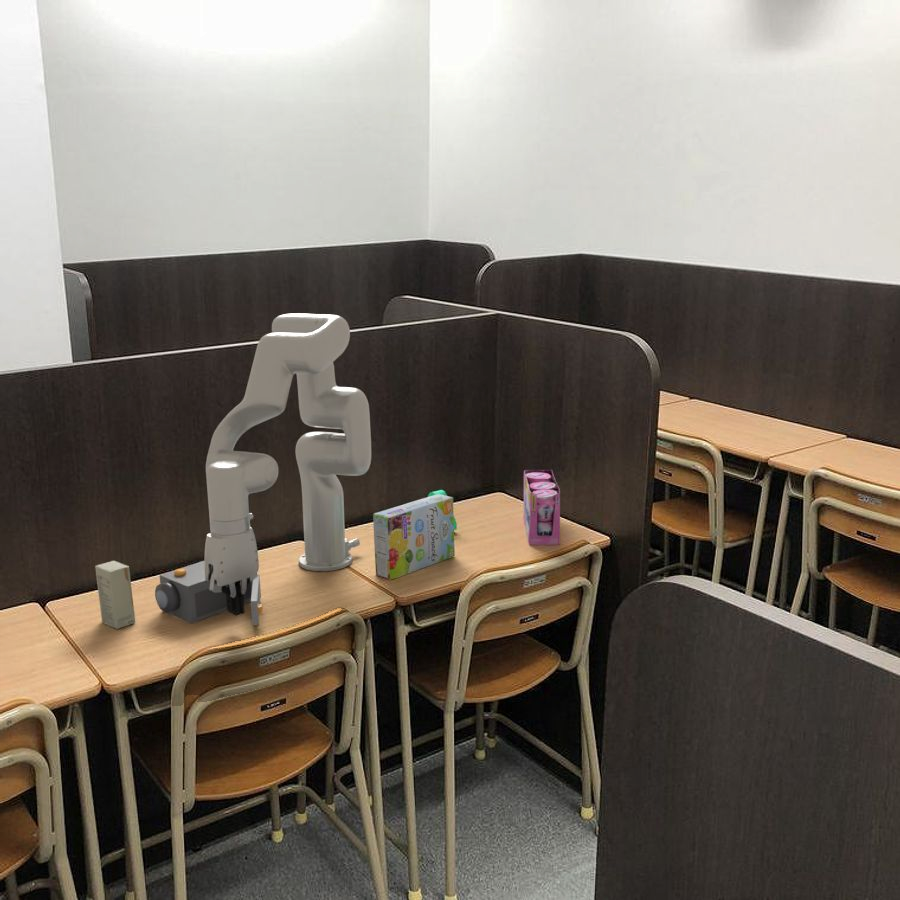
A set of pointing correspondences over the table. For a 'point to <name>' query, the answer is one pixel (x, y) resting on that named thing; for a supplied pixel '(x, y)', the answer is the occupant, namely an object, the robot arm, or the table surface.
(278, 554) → the table surface
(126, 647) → the table surface
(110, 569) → the skincare box
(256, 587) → the side door
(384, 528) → the snack box
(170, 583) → the camera body
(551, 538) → the gum box
